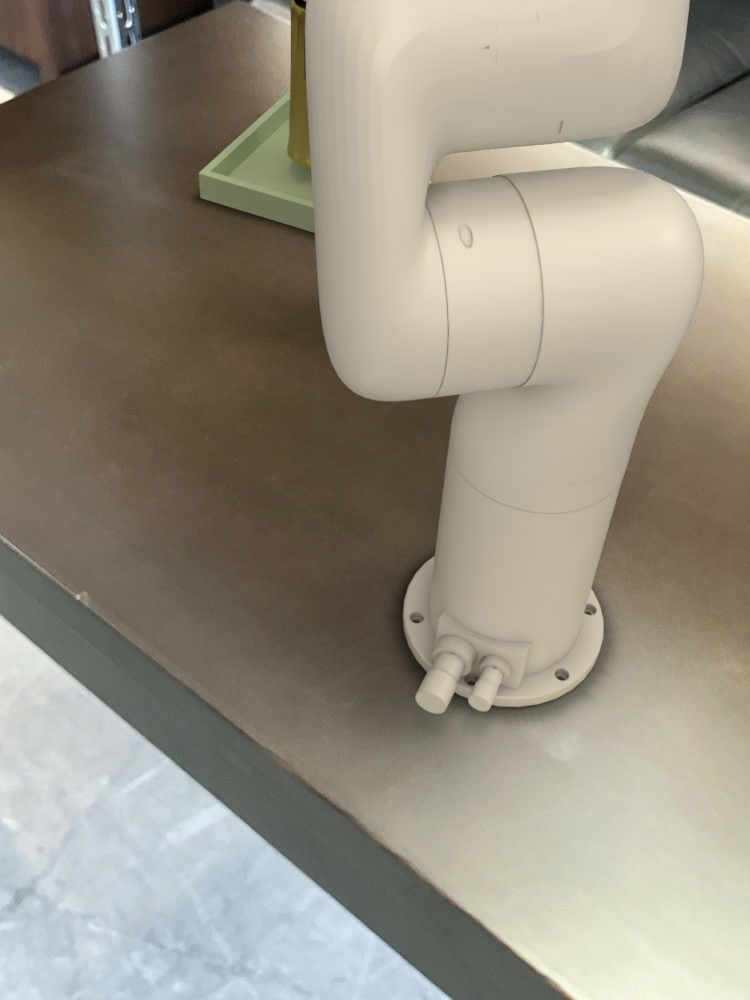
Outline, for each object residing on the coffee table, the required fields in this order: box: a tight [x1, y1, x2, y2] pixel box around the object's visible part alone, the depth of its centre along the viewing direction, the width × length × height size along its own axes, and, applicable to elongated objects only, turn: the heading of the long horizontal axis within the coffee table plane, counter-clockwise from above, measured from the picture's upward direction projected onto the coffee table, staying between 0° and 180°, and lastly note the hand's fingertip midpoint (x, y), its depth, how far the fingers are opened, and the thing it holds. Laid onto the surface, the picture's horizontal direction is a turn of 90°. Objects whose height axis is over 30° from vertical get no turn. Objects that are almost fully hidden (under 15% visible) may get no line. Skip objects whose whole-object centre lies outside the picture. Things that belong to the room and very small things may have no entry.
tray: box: [198, 90, 315, 234], centre depth 107 cm, size 18×16×3 cm
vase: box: [287, 0, 311, 168], centre depth 101 cm, size 6×6×14 cm
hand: (321, 61), depth 100 cm, fingers closed on vase, 5 cm apart
